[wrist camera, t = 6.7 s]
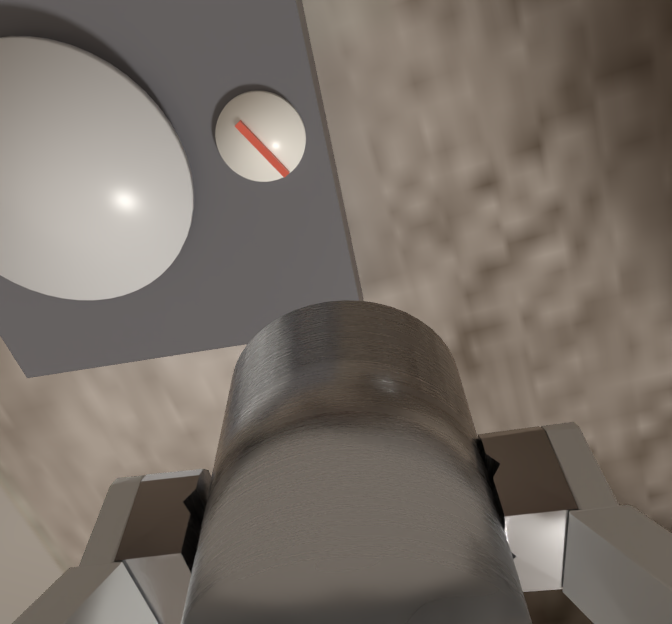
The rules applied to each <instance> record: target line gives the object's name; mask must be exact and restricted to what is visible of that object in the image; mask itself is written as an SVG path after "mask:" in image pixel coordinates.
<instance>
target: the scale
mask: <svg viewBox="0 0 672 624" xmlns="http://www.w3.org/2000/svg"><path fill="white" fill-rule="evenodd" d="M341 300H350V301H363V295H362V290H361V285H360V280H359V275H358V270H357V266H356V261H355V256H354V251H353V246H352V241H351V237H350V232H349V227H348V222H347V217H346V212H345V208H344V203H343V198H342V193H341V188H340V183H339V179H338V174H337V169H336V164H335V159H334V154H333V149H332V145H331V140H330V135H329V130H328V125H327V120H326V116H325V111H324V106H323V101H322V96H321V91H320V87H319V82H318V77H317V72H316V67H315V62H314V58H313V53H312V48H311V43H310V38H309V33H308V28H307V24H306V19H305V14H304V9H303V4H302V0H0V336H1V338H2V339H3V341H4V342H5V344H6V345H7V347H8V349H9V350H10V352H11V353H12V355H13V356H14V358H15V360H16V361H17V363H18V364H19V366H20V367H21V369H22V371H23V372H24V374H25V375H26V377H27V378H31V377H37V376H44V375H50V374H57V373H63V372H70V371H76V370H82V369H89V368H95V367H102V366H108V365H115V364H121V363H128V362H134V361H141V360H147V359H153V358H160V357H166V356H173V355H179V354H186V353H192V352H199V351H205V350H212V349H218V348H224V347H231V346H237V345H244V344H248V343H249V342H250V341H251V340H252V339H253V338H254V337H255V335H256V334H257V333H258V332H260V331H261V330H262V329H263V328H265V327H266V326H267V325H268V324H270V323H271V322H273V321H275V320H276V319H278V318H279V317H281V316H283V315H285V314H288V313H290V312H292V311H294V310H297V309H300V308H303V307H306V306H309V305H313V304H318V303H323V302H330V301H341Z"/></svg>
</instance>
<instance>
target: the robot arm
mask: <svg viewBox="0 0 672 624" xmlns="http://www.w3.org/2000/svg"><path fill="white" fill-rule="evenodd" d="M477 439H478V442H479V446H480V449H481V453H482V456H483V459H484V463H485V466H486V470H487V473H488V476H489V479H490V482H491V485H492V488H493V494H494V497H495V501H496V504H497V507H498V511H499V514H500V518H501V521H502V524H503V528H504V531H505V534H506V537H507V540H508V543H509V546H510V550H511V553H512V556H513V560H514V563H515V567H516V570H517V573H518V577H519V580H520V584H521V587H522V590H523V592H529V591H542V590H556V589H563V593H564V594H565V595H566V596H567V597H568V598H569V599H570V600H571V601H572V602H573V603H574V604H575V605H576V606H577V607H578V608H579V609H580V610H581V611H582V612H583V613H584V614H585V615H586V616H587V617H588V618H589V619H590V620H591V621H592V622H593V623H594V624H672V533H671V532H669V531H668V530H666V529H665V528H663V527H662V526H660V525H659V524H657V523H656V522H654V521H653V520H651V519H650V518H648V517H647V516H646V515H644V514H643V513H641V512H640V511H638V510H637V509H635V508H634V507H632V506H631V505H619V504H618V502H617V500H616V498H615V496H614V494H613V492H612V490H611V488H610V487H609V485H608V483H607V481H606V479H605V477H604V475H603V473H602V471H601V469H600V467H599V465H598V463H597V461H596V459H595V457H594V455H593V453H592V451H591V449H590V447H589V445H588V443H587V441H586V439H585V437H584V435H583V433H582V431H581V429H580V428H579V426H578V425H577V424H576V423H574V422H568V423H561V424H553V425H546V426H541V427H539V426H537V427H530V428H522V429H515V430H507V431H500V432H492V433H485V434H478V438H477ZM210 482H211V475H210V473H209V470H205V469H199V470H189V471H178V472H168V473H158V474H148V475H143V476H133V477H123V478H117V479H116V480H115V481H114V482H113V483H112V484H111V486H110V487H109V490H108V492H107V495H106V498H105V500H104V503H103V505H102V508H101V510H100V513H99V516H98V518H97V521H96V523H95V526H94V528H93V531H92V534H91V536H90V539H89V541H88V544H87V546H86V549H85V552H84V554H83V557H82V559H81V562H80V564H79V566H78V567H70V568H69V569H68V570H67V571H66V572H65V573H64V574H63V575H62V576H61V577H60V578H58V579H57V580H56V581H55V582H54V583H53V584H52V585H51V586H50V587H49V588H48V589H47V590H46V591H45V592H44V593H43V594H42V595H41V596H40V597H39V598H38V599H37V600H36V601H35V602H34V603H33V604H32V605H31V606H30V607H29V608H27V609H26V610H25V611H24V612H23V613H22V614H21V615H20V616H19V617H18V618H17V619H16V620H15V621H14V622H13V623H12V624H181V621H182V616H183V611H184V606H185V602H186V597H187V592H188V587H189V582H190V578H191V573H192V568H193V563H194V559H195V554H196V549H197V544H198V539H199V535H200V530H201V525H202V520H203V515H204V511H205V506H206V501H207V496H208V492H209V487H210Z"/></svg>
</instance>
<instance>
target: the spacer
mask: <svg viewBox="0 0 672 624" xmlns="http://www.w3.org/2000/svg"><path fill="white" fill-rule="evenodd" d="M477 438H478V437H477V434H476V430H475V427H474V423H473V420H472V416H471V413H470V410H469V406H468V403H467V399H466V396H465V393H464V389H463V386H462V382H461V379H460V376H459V372H458V369H457V366H456V363H455V360H454V358H453V356H452V354H451V352H450V350H449V348H448V347H447V346H446V344H445V343H444V342H443V340H442V339H441V338H440V337H439V336H438V335H437V334H436V333H435V332H434V331H433V330H432V329H431V328H430V327H428V326H427V325H426V324H424V323H423V322H422V321H420V320H419V319H417V318H415V317H413V316H411V315H409V314H408V313H406V312H403V311H401V310H398V309H395V308H393V307H390V306H386V305H382V304H378V303H373V302H365V301H350V300H341V301H330V302H323V303H318V304H313V305H309V306H306V307H303V308H300V309H297V310H294V311H292V312H290V313H288V314H285V315H283V316H281V317H279V318H278V319H276V320H275V321H273V322H271V323H270V324H268V325H267V326H266V327H265V328H263V329H262V330H261V331H260V332H258V333H257V334H256V335H255V337H254V338H253V339H252V340H251V341H250V342H249V343H248V344H247V346H246V347H245V349H244V350H243V352H242V353H241V355H240V357H239V359H238V361H237V364H236V366H235V369H234V373H233V377H232V381H231V386H230V391H229V396H228V401H227V405H226V410H225V415H224V420H223V424H222V429H221V434H220V439H219V444H218V448H217V453H216V458H215V463H214V468H213V472H212V477H211V482H210V487H209V492H208V496H207V501H206V506H205V511H204V515H203V520H202V525H201V530H200V535H199V539H198V544H197V549H196V554H195V559H194V563H193V568H192V573H191V578H190V582H189V587H188V592H187V597H186V602H185V606H184V611H183V616H182V621H181V624H532V621H531V618H530V614H529V611H528V608H527V604H526V601H525V597H524V594H523V590H522V587H521V584H520V580H519V577H518V573H517V570H516V567H515V563H514V560H513V556H512V553H511V550H510V546H509V543H508V540H507V537H506V534H505V531H504V528H503V524H502V521H501V518H500V514H499V511H498V507H497V504H496V501H495V497H494V494H493V488H492V485H491V482H490V479H489V476H488V473H487V470H486V466H485V463H484V459H483V456H482V453H481V449H480V446H479V442H478V439H477Z"/></svg>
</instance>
